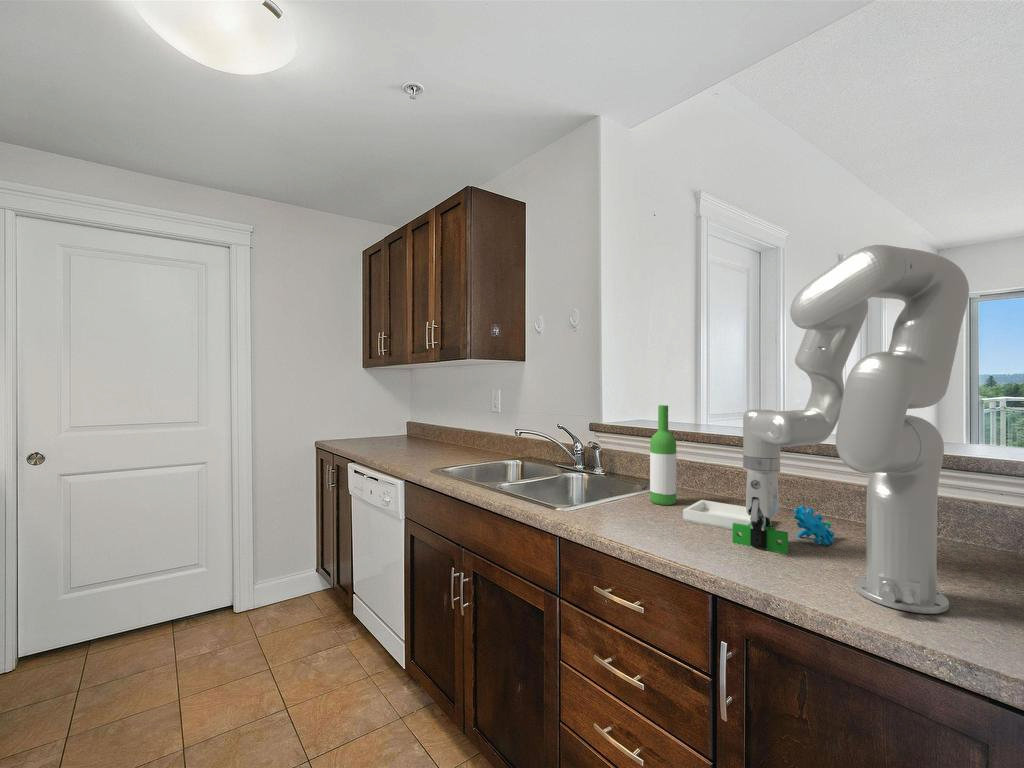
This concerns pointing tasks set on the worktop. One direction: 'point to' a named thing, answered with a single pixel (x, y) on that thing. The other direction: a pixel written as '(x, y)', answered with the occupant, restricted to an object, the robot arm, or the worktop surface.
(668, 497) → the wine bottle
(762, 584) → the worktop surface
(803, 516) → the blue lumpy piece
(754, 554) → the worktop surface
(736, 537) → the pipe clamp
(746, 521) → the tray
